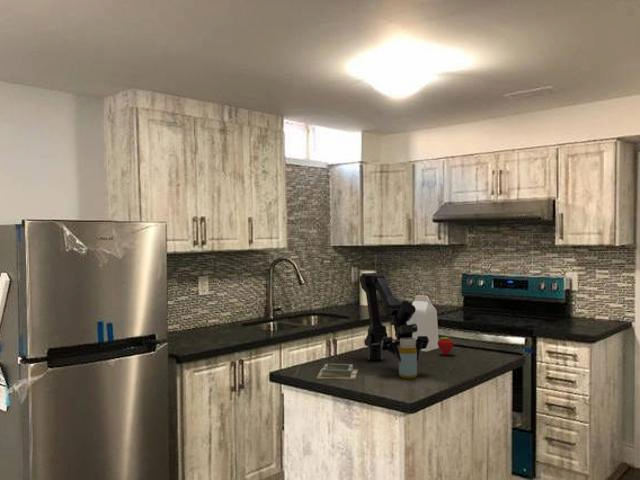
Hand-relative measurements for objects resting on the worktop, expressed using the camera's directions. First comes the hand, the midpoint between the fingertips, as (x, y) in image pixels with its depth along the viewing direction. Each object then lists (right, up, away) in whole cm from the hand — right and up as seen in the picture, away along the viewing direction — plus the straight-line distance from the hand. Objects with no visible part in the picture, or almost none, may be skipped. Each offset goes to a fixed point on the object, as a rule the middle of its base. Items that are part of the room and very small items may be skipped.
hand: (408, 360), depth 225 cm
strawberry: (+23, -6, +41) cm, 47 cm away
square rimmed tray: (-28, -7, +5) cm, 29 cm away
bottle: (0, -7, +1) cm, 7 cm away
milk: (+16, -6, +58) cm, 60 cm away
